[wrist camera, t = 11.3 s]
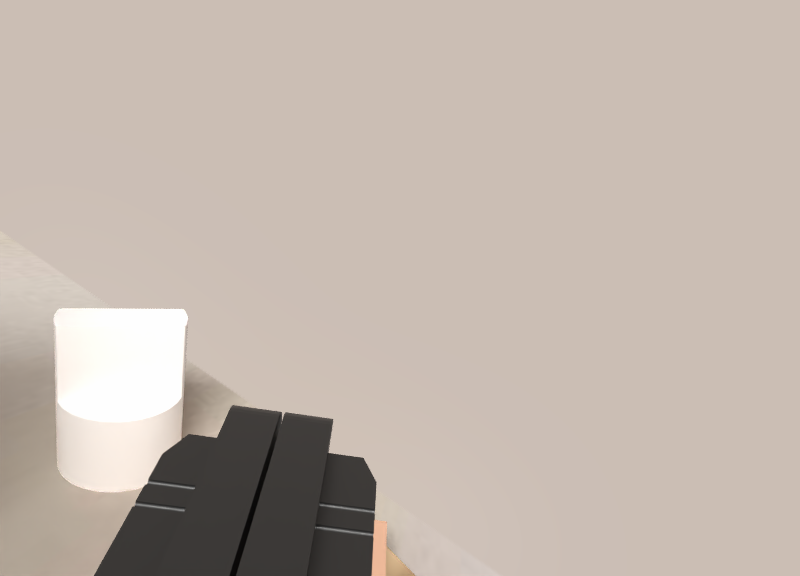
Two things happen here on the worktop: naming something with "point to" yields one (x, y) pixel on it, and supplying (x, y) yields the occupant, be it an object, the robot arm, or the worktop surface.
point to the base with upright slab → (117, 393)
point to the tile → (379, 548)
